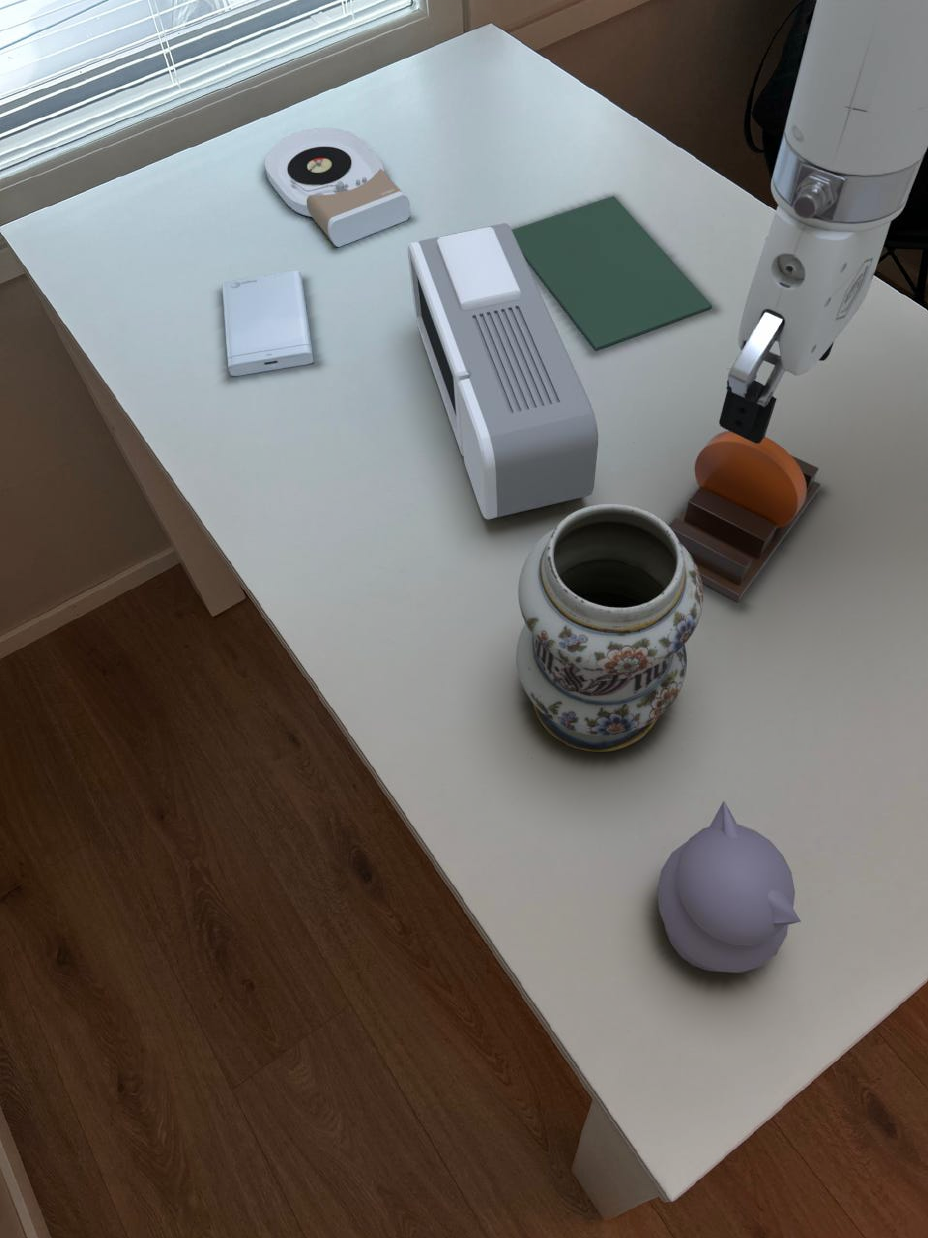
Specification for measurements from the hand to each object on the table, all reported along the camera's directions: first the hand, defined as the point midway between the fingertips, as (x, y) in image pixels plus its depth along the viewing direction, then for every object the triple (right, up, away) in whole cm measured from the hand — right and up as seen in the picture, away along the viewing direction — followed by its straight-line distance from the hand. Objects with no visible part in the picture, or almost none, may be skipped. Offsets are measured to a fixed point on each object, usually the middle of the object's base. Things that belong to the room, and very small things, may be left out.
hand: (774, 390), depth 68 cm
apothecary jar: (-12, -22, +6) cm, 26 cm away
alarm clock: (-19, +3, +21) cm, 29 cm away
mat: (-7, +20, +31) cm, 38 cm away
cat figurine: (-6, -36, -4) cm, 37 cm away
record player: (-37, +33, +41) cm, 64 cm away
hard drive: (-42, +13, +29) cm, 53 cm away
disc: (+1, -5, +9) cm, 10 cm away
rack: (+1, -8, +13) cm, 16 cm away
